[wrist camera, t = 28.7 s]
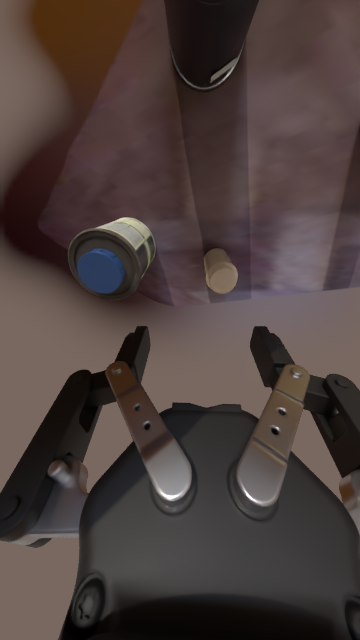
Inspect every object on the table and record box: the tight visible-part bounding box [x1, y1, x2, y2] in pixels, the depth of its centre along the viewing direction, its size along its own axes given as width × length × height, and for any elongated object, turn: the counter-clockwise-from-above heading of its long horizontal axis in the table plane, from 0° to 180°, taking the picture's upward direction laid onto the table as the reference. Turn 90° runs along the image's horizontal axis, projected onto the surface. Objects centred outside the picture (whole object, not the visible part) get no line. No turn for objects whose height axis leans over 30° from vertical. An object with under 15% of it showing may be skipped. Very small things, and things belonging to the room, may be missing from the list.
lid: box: [77, 249, 125, 293], centre depth 25 cm, size 6×6×2 cm
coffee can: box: [68, 218, 156, 300], centre depth 32 cm, size 10×10×14 cm
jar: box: [203, 248, 238, 294], centre depth 34 cm, size 5×5×11 cm
